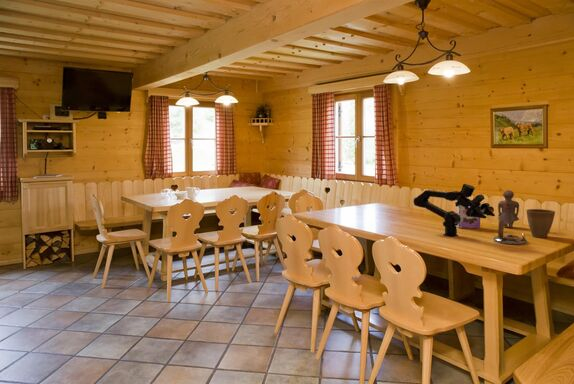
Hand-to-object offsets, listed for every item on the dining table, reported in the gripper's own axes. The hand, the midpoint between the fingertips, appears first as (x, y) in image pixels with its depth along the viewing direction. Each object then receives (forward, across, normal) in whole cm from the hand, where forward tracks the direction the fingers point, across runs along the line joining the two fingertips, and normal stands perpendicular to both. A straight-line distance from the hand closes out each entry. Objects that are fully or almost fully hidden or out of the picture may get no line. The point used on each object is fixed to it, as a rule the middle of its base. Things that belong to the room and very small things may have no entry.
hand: (490, 216), depth 243 cm
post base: (+12, +11, +12) cm, 20 cm away
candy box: (-23, +30, +27) cm, 46 cm away
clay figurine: (-8, +51, +20) cm, 55 cm away
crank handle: (+12, +9, +9) cm, 18 cm away
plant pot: (+16, +36, +10) cm, 41 cm away
